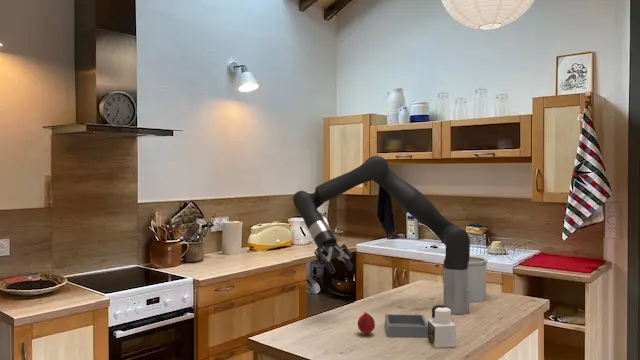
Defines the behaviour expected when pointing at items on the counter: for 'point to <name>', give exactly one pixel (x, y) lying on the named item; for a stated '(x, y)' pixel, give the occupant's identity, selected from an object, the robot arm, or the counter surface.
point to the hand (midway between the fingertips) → (342, 270)
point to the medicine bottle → (441, 328)
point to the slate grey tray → (406, 325)
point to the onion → (366, 323)
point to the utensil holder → (477, 278)
